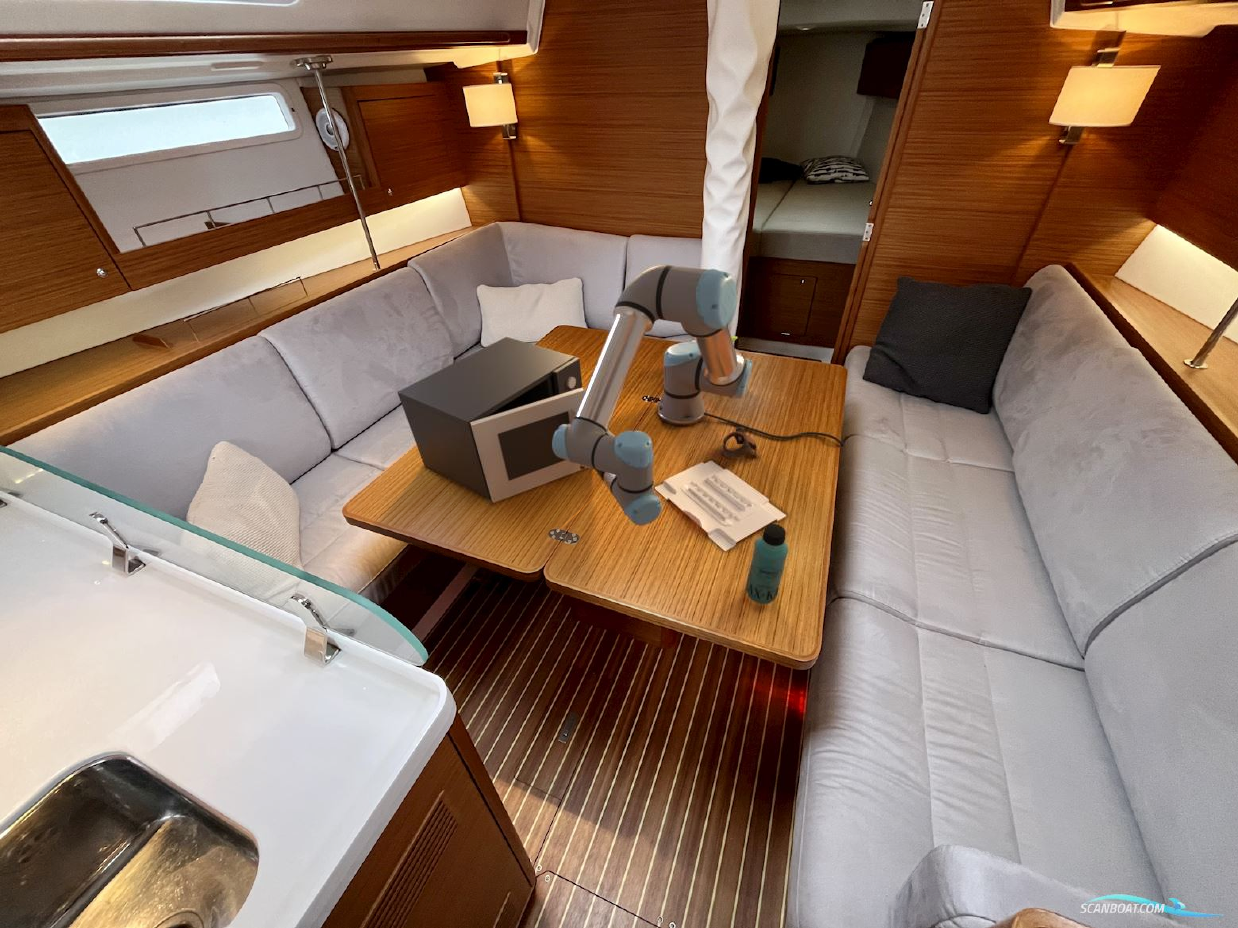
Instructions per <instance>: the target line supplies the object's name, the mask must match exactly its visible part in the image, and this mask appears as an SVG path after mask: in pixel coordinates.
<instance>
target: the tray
mask: <svg viewBox="0 0 1238 928" xmlns="http://www.w3.org/2000/svg"><path fill="white" fill-rule="evenodd" d="M654 490H656V492H658V493H659V494H660V495H661V496H662V497H663V498H664V499H666V500H670V501H671V502H672V503H673V504H675V506H677V507H678V508H679V509H680V510H681V511H682V512H683V513H684V514H686V515H687V516H688V517H689V518H690V519H691V520H692V521H693V522H695V523H696V524H697V525H698V526H699V527H700V528H701V529H702V530H704V531H705V532H706V533H707V537H708V538H709V539H710V540H711V541H713V542H714V543H715V544H716V545H717V546H718V547H720V549H722V550H723V551H724V552H727V551H728V550H730V549H732V548H734V547H735V546H736V545H737V543H738V542H739V541H741V540H743V539H745V538H747V537H748V536H750V535H751V534H753V533H755V532H757V531H759V530H761V529H762V528H765V527H766V526H767V525H769V524H772V523H773V522H774V521H777V522H778V521H781V520H782V519H783V518H786V517H787V515H786V514H785V513H784V512H782V511H781V510H780V509H778V508H777V507H776V506H774V505H773V504H771V503H770V499H769V498H768V497H767V496H765V495H764V494H762V493H761V492H760V491H758V490H757V489H755V488H754V487H753V486H752V485H750V484H748V483H747V482H745V481H744V480H743V479H741V478H740V477H739V476H737V475H736V474H735V473H733V472H732V471H731V470H729V469H728V468H725V469H724V468H723V467H721V465H718V464H717V463H716V462H714V461H713V460H709V461H707V462H705V463H704V462H703V461H702V462H700V463H697V464H696V465H693V466H691V467H689V468H687V469H685V470H683V471H681V472H679V473H676V474H674V475H672V476H670V477H668V478H666V479H664V480H663V483H661V484H659V485H656V486H654Z"/></svg>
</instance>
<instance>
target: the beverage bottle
mask: <svg viewBox="0 0 1238 928" xmlns="http://www.w3.org/2000/svg"><path fill="white" fill-rule="evenodd" d="M786 535H787V531H786V529H785V528H784V526H782V525H780V524H778V523H769V524H767V525H765V526H764V528H763V532H762V535H761V536H759V537H757V539H756V540H755V542H754V547H753V552H752V557H751V561H750V562H749V563H750V564H749V565H750V566H749V568H748V572H747V579H746V585H745V590H746V595H747V596H748V598H749V599H750V600H751V601H752V602H753V603H757V604H759V605H769V604H772V603H773V602H774V601H775V600H776V599H777V597H778V594H779V590H780V586H781V582H782V578H783V574H784V570H785V565H786V560H787V556H788V553H789V545H788V544H787V542H786Z"/></svg>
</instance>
